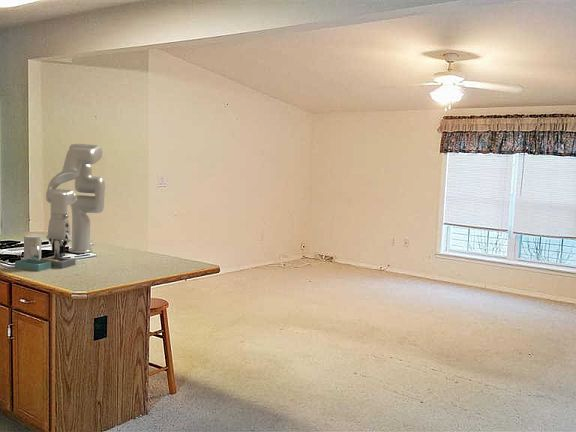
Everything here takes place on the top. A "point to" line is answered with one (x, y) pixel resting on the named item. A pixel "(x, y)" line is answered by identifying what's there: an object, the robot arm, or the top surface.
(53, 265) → the gray tray
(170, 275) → the top surface
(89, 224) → the robot arm
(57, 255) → the steel cell
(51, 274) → the top surface
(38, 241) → the cup
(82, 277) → the top surface
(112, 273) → the top surface
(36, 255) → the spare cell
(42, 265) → the trough
